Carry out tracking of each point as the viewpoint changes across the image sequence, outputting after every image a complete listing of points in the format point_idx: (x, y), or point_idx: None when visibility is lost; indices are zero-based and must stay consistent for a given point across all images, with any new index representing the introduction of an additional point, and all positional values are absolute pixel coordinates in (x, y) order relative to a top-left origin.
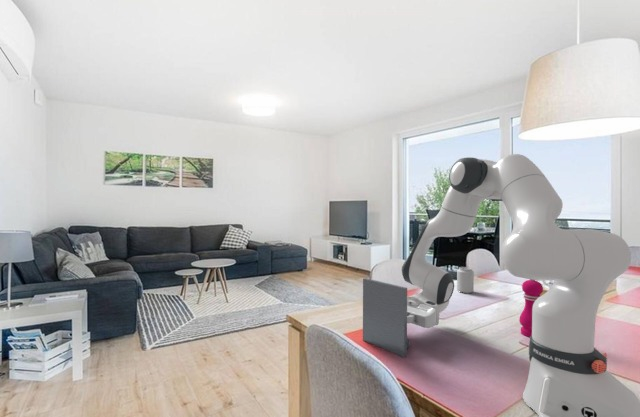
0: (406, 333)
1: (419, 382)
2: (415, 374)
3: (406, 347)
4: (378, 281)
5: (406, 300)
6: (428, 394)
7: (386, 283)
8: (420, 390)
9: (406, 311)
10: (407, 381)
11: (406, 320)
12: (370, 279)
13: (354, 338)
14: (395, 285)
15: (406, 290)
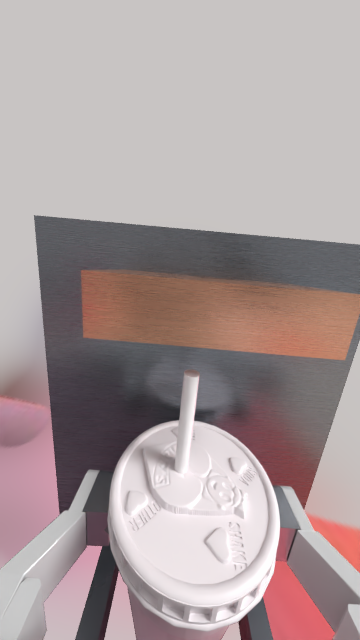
0: (56, 449)
1: (19, 420)
2: (27, 441)
3: (60, 499)
4: (262, 237)
5: (45, 294)
6: (4, 401)
7: (193, 231)
8: (20, 402)
9: (49, 353)
10: (49, 411)
11: (52, 396)
12: (336, 243)
13: (309, 516)
14: (123, 224)
15: (41, 233)
